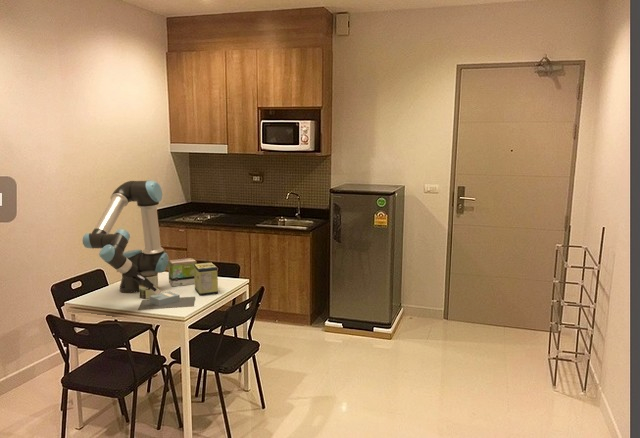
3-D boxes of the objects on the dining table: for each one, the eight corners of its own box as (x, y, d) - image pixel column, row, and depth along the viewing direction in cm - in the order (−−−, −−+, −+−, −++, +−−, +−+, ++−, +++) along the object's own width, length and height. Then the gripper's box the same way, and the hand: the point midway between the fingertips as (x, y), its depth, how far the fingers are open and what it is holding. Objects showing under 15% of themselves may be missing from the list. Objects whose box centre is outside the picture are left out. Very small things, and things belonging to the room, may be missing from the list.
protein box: (212, 287, 299) (211, 261, 297) (218, 294, 285) (217, 267, 283) (194, 289, 295) (193, 263, 293) (200, 296, 281) (199, 269, 279)
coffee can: (136, 300, 274) (135, 275, 272) (143, 294, 284) (142, 270, 282) (155, 300, 273) (153, 275, 271) (161, 294, 283) (160, 270, 282)
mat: (142, 300, 272) (142, 299, 272) (195, 297, 278) (195, 296, 278) (137, 311, 255) (137, 310, 255) (194, 307, 261) (194, 306, 260)
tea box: (172, 287, 299) (171, 263, 297) (168, 283, 308) (167, 260, 306) (197, 283, 307) (196, 260, 305) (192, 280, 315) (192, 257, 313)
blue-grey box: (159, 299, 260) (179, 294, 269) (149, 296, 267) (169, 291, 276) (159, 306, 261) (179, 301, 269) (149, 302, 267) (169, 297, 276)
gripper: (115, 272, 253) (147, 296, 268) (128, 276, 245) (160, 301, 259) (125, 260, 256) (156, 285, 271) (137, 263, 248) (169, 289, 262)
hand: (158, 293), depth 265 cm, fingers closed
